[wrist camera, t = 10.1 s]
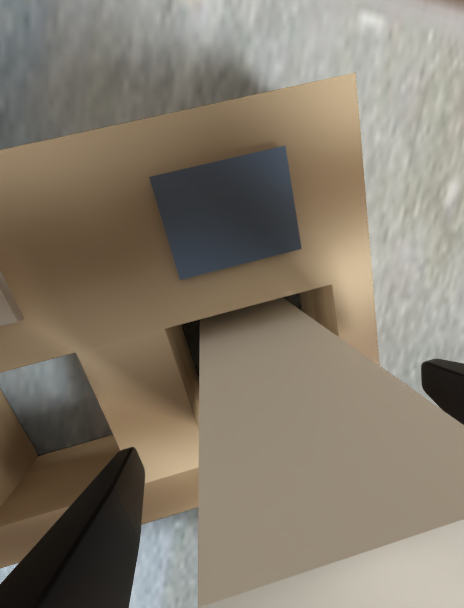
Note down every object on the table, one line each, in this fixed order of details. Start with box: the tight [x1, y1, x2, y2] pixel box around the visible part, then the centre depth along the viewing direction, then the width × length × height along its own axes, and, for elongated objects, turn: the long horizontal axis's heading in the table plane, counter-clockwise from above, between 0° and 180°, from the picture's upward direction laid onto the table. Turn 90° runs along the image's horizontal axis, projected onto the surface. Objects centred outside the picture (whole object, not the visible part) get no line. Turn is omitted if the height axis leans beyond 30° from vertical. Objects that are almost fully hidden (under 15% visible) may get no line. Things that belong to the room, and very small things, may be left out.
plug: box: [198, 298, 464, 608], centre depth 8 cm, size 4×4×10 cm
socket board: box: [0, 73, 380, 568], centre depth 10 cm, size 14×18×4 cm
